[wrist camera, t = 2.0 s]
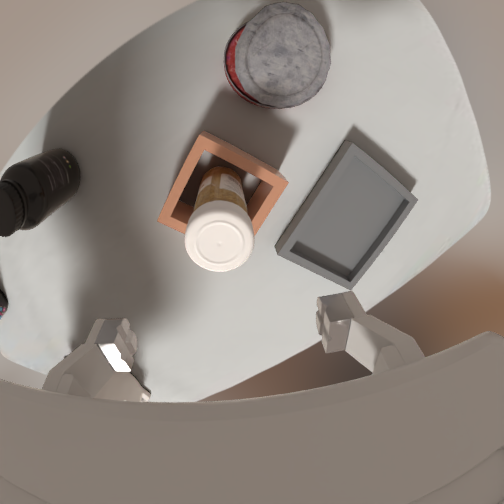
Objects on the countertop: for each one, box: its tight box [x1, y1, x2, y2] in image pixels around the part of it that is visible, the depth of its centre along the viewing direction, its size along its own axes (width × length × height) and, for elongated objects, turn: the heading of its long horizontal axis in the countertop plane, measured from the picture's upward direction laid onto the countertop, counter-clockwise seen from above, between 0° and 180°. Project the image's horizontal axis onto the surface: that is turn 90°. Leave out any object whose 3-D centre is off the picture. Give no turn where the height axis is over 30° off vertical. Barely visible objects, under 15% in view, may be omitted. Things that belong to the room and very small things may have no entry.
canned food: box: [224, 2, 331, 109], centre depth 21 cm, size 11×10×10 cm
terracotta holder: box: [157, 131, 289, 236], centre depth 27 cm, size 9×9×5 cm
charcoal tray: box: [275, 140, 418, 290], centre depth 31 cm, size 15×12×2 cm
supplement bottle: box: [0, 149, 80, 237], centre depth 21 cm, size 7×7×12 cm
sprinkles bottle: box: [184, 167, 254, 272], centre depth 23 cm, size 5×5×13 cm
